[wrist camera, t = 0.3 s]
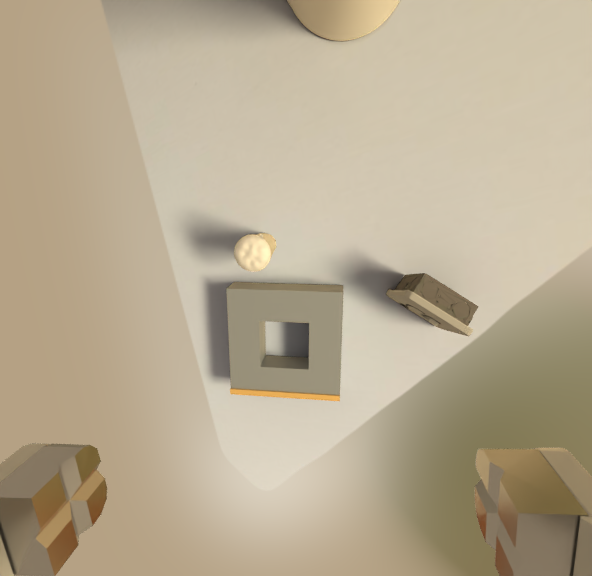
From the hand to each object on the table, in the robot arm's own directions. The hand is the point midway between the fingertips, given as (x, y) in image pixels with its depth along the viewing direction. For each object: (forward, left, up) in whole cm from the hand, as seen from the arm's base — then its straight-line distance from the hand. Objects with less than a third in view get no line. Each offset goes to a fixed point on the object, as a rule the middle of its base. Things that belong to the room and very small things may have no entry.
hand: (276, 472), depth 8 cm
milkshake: (+1, -9, -46) cm, 47 cm away
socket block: (+15, -6, -46) cm, 49 cm away
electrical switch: (+8, +13, -46) cm, 49 cm away
